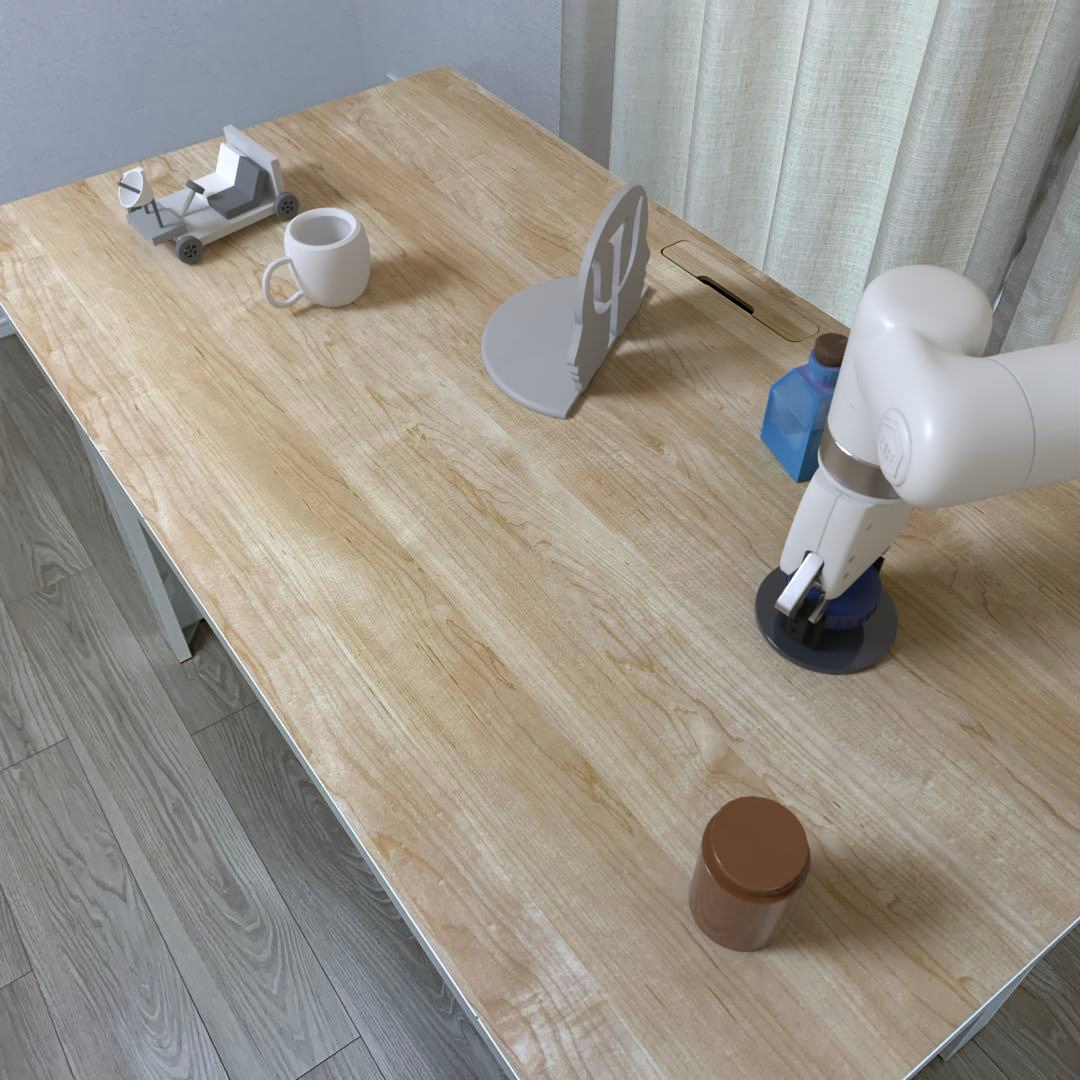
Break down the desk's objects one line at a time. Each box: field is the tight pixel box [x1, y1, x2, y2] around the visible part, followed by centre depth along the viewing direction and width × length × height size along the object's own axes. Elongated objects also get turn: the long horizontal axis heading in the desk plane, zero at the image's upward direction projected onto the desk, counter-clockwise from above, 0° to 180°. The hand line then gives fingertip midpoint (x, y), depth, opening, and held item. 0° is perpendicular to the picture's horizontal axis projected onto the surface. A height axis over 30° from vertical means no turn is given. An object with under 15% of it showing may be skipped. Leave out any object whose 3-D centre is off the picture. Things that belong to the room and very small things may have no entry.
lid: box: [786, 564, 883, 630], centre depth 80 cm, size 7×7×2 cm
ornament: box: [480, 182, 651, 420], centre depth 99 cm, size 22×13×17 cm, turn 155°
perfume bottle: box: [759, 332, 849, 484], centre depth 90 cm, size 6×6×12 cm
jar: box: [688, 795, 812, 953], centre depth 64 cm, size 6×6×9 cm
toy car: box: [117, 124, 300, 265], centre depth 115 cm, size 18×10×12 cm
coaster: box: [754, 565, 899, 675], centre depth 82 cm, size 11×11×1 cm
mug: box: [261, 207, 372, 309], centre depth 106 cm, size 12×8×8 cm
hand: (826, 607), depth 82 cm, fingers closed on lid, 6 cm apart
